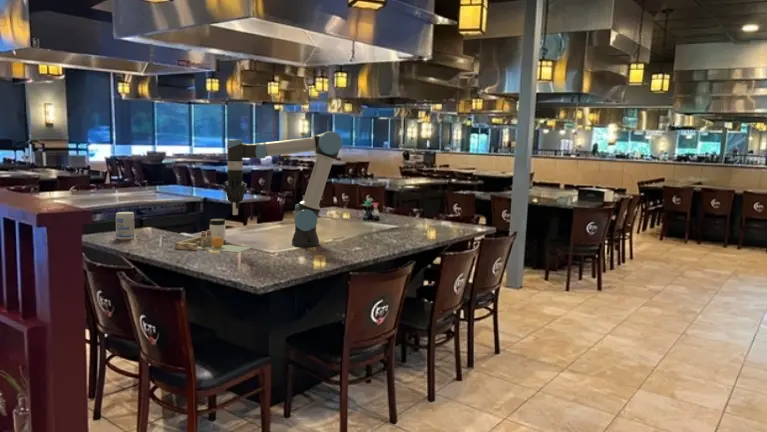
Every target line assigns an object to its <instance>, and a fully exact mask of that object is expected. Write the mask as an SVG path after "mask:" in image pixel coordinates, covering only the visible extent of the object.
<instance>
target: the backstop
mask: <svg viewBox="0 0 767 432" xmlns="http://www.w3.org/2000/svg"><path fill="white" fill-rule="evenodd" d="M213 238H214V237H211V242H212V240H213ZM197 241H201V235H200V236H196V237H192V238H187V239H184V240H180V241H177V242H175V243H174V246H175V247H174V249H179V250H188V251H198V249H197V244H196V242H197ZM206 242H207V236H206Z"/></svg>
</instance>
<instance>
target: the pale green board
mask: <svg viewBox="0 0 767 432" xmlns="http://www.w3.org/2000/svg"><path fill="white" fill-rule="evenodd" d="M250 249H253V247H252V246H241V245H231V244H229V245H227V244H223V246H222V247H220V248H215V247H214V246H212V247H207V246H206V247H201V246H197V250H207V251H208V250H209V251H216V252H217V251H219V252H230V253H242V252H244V251H248V250H250Z"/></svg>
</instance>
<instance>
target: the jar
mask: <svg viewBox="0 0 767 432" xmlns="http://www.w3.org/2000/svg"><path fill="white" fill-rule="evenodd" d="M209 230H211V237H214V238H215V237H221V238H222V239H223V242H225V241H226V219H225V218H212V219H210V220H209Z"/></svg>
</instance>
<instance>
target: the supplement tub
mask: <svg viewBox="0 0 767 432" xmlns="http://www.w3.org/2000/svg"><path fill="white" fill-rule="evenodd" d="M115 238H116V239H117V240H121V241H126V240H127V241H128V240H133V239H135V213H134V212H133V211H119V212H116V213H115Z"/></svg>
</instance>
